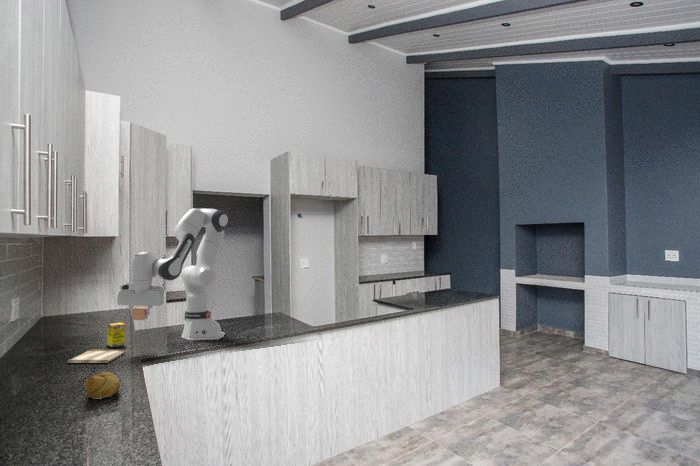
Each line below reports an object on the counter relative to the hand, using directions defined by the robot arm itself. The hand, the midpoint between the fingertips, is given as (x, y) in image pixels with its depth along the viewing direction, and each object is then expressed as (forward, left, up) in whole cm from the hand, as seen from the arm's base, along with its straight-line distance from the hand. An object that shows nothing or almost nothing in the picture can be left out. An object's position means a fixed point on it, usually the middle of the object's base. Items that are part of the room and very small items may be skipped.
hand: (140, 314), depth 186 cm
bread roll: (-11, +53, -17) cm, 57 cm away
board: (+12, +12, -17) cm, 24 cm away
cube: (0, 0, -2) cm, 2 cm away
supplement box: (+14, -8, -17) cm, 24 cm away
